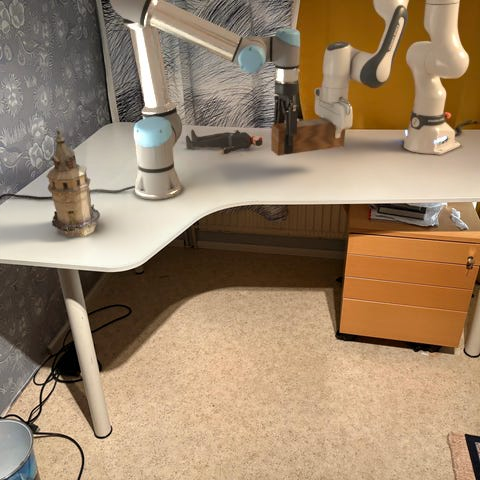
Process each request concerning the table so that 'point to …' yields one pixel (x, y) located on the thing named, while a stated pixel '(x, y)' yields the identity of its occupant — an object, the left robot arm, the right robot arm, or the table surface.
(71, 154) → the miniature building
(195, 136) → the toy
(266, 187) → the table surface
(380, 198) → the table surface
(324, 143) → the bar
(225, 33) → the left robot arm
